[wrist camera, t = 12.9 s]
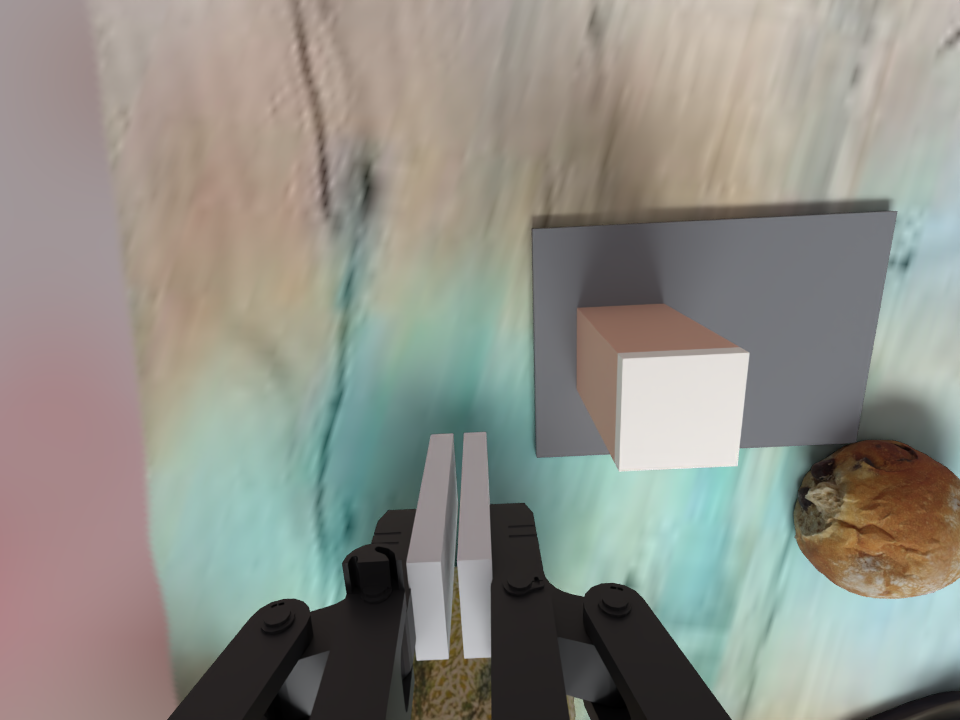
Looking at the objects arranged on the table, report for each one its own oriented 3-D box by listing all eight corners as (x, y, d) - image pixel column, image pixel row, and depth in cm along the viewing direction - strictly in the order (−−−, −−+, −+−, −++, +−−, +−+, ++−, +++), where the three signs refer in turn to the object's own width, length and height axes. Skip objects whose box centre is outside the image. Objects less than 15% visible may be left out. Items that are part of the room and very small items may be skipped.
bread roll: (783, 539, 40) (870, 645, 34) (755, 483, 34) (855, 601, 28) (905, 469, 39) (1020, 567, 32) (900, 396, 32) (1040, 501, 26)
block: (576, 389, 32) (619, 471, 22) (576, 307, 30) (623, 358, 21) (659, 385, 32) (737, 465, 22) (663, 303, 30) (749, 352, 21)
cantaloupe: (459, 720, 41) (449, 1006, 26) (307, 614, 38) (202, 872, 23) (601, 605, 37) (678, 858, 23) (447, 479, 34) (427, 681, 20)
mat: (535, 453, 34) (536, 457, 33) (531, 228, 30) (532, 229, 29) (849, 438, 34) (855, 442, 33) (889, 210, 30) (897, 211, 29)
